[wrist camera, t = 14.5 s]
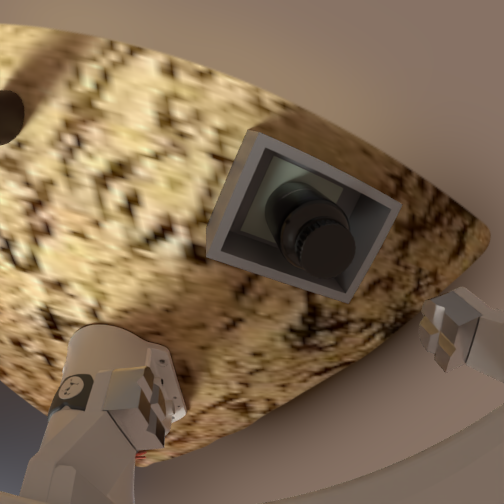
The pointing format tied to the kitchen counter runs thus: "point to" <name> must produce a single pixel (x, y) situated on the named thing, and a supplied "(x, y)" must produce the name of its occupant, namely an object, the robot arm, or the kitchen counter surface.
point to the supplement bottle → (310, 230)
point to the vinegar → (10, 116)
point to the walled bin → (256, 229)
